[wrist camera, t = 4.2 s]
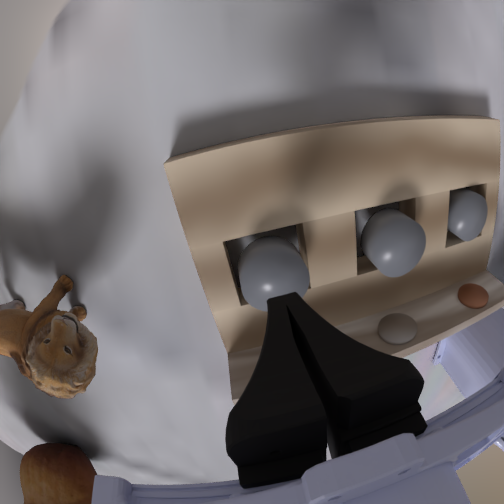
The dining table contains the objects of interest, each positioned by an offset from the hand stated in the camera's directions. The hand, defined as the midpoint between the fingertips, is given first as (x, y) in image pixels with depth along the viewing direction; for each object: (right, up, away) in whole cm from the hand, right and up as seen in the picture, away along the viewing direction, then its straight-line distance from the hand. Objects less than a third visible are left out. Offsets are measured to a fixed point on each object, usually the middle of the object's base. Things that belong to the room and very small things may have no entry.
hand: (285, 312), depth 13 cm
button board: (+7, +4, +6) cm, 10 cm away
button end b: (0, +2, +4) cm, 4 cm away
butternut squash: (-28, -27, +17) cm, 42 cm away
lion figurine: (-17, 0, +5) cm, 18 cm away
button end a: (+14, +6, +5) cm, 16 cm away
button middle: (+7, +4, +4) cm, 9 cm away
